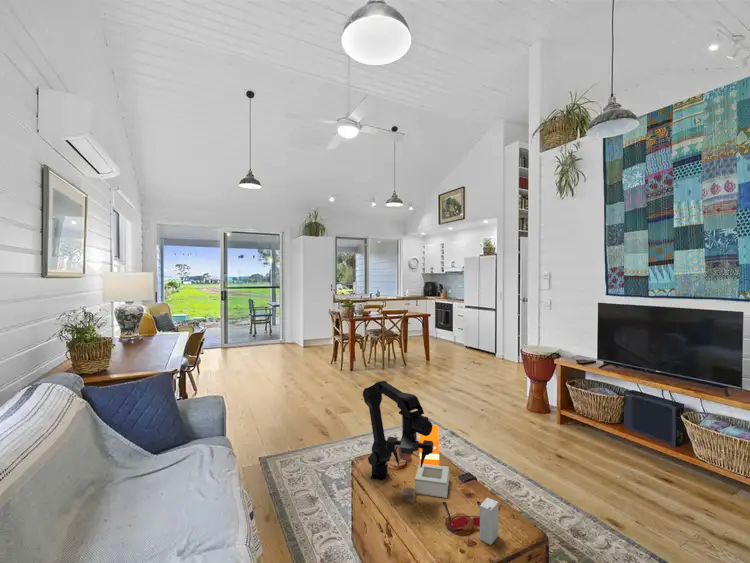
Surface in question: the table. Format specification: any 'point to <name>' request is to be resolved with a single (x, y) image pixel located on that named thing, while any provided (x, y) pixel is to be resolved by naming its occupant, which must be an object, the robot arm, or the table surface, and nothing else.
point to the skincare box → (489, 521)
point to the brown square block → (409, 494)
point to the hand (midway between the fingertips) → (409, 465)
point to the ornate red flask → (404, 455)
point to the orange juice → (434, 457)
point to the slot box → (432, 480)
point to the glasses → (463, 519)
